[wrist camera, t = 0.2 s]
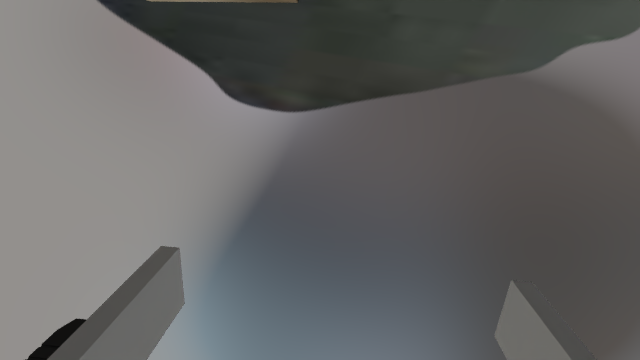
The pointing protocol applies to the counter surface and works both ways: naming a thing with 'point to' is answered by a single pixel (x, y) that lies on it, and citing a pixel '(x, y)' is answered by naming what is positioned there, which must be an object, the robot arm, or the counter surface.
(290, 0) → the maple box
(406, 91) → the counter surface
